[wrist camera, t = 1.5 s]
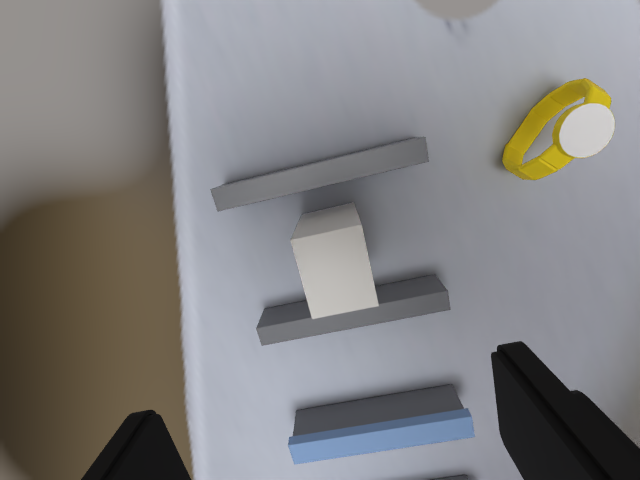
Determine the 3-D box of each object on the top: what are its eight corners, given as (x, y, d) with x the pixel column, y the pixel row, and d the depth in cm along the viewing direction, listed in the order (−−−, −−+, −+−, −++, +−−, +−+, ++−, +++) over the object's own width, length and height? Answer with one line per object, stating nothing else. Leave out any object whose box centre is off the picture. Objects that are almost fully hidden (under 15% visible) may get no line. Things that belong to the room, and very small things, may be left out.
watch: (513, 178, 24) (564, 196, 18) (481, 159, 24) (524, 171, 18) (574, 100, 22) (653, 93, 16) (541, 78, 22) (609, 63, 16)
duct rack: (416, 137, 23) (432, 135, 19) (470, 488, 32) (488, 532, 28) (222, 184, 24) (202, 191, 21) (325, 507, 33) (324, 552, 30)
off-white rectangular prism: (353, 202, 25) (361, 224, 18) (366, 263, 26) (378, 306, 19) (301, 214, 25) (290, 240, 18) (317, 274, 26) (312, 319, 20)
